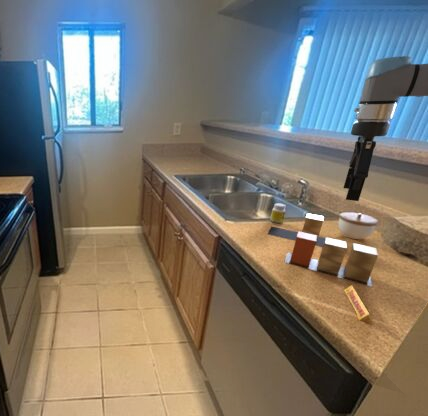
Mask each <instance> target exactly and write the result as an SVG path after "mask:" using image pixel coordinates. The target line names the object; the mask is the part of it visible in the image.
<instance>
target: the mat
mask: <svg viewBox="0 0 428 416" xmlns="http://www.w3.org/2000/svg"><path fill="white" fill-rule="evenodd" d="M297 234H298V231H294V230H289V229H285V228H281V227H278V226H277V227H276V226H272V225H271V226H270V228H269V230H268V232H267V235H269V236H273V237H278V238H281V239H282V238H283V239H286V240H290V241H294V242H295V241H296V237H297ZM325 238H326V237H323V236H319V237H318V240H317V243H316V244H315V247H316V246H317V247H320V248H322V247H323V244H324V241H325Z"/></svg>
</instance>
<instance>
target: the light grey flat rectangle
mask: <svg viewBox="0 0 428 416" xmlns="http://www.w3.org/2000/svg"><path fill="white" fill-rule="evenodd" d="M291 256H292V252H286V255H285V258H284V263H286V264H288V265H292V266H295V267H299V268H304V269H306V270H311V271H314V272H316V273H320V274H325V275H328V276H332V277H334V278H339V279H343V280H346V281H349V282H352V283H357V284H361V285H364V286H368V287H371V288H373V283H372V278H371V275H370V277H369V280H368V282H367V283H366V282H363V281H359V280H355V279H352V278H348V277H345V275H344V268H345V266H342V265H341V267H340V270H339V273H338V275H337V274H333V273H330V272H326V271H323V270H319V269H317V266H318V260H319V259H315V258H311V261H310V265H309V267H308V266H304V265H301V264H297V263H293V262H290V260H291Z"/></svg>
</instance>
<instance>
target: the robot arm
mask: <svg viewBox="0 0 428 416" xmlns="http://www.w3.org/2000/svg"><path fill="white" fill-rule="evenodd" d="M411 61H412V57H411V56H409V55H401V56H389V57H388V56H387V57H383V58H377V59H375V60H373V61H372V62H371V63H370V64H369V66H368V67H369V68H368V71H367V73H366V76H365V78H364V83H363V87H362V89H361V94H360V98H359V102H358V105H357V107H356V108H354V110H353V111H354V112H355V117H354V119H355V120H356V121H354V122H353V124H352V127H351V130H350V134H351V135H352V136H355V137H357V141H355V144H354V149H353V152H352V156H351V159H350V161H349V168H348V171H347V174H346V177H345V181H344V184H343V189H347V193H346V197H345V200H346V201H353V202H359V201H360V197H361V194H362V191H363V188H364V184H365V182H366V179H367V178H368V177H369V171H370V167H371V162H372V158H373V155H374V150H375V148H376V145H377V141H376V140H375V137H385V136H387V135H388V133H389V130H390V126H391V122H390V120H392V119H393V118H394V115H395V112H396V108H397V106H398V101H399V98H400V97H404V98H406V97H417V98H420V97H421V98H422V97H428V63H412V62H411Z"/></svg>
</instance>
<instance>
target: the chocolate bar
mask: <svg viewBox="0 0 428 416" xmlns="http://www.w3.org/2000/svg"><path fill="white" fill-rule="evenodd" d="M344 292H345V294H346V296H347V298H348V300H349V301H350V303H351V305H352V307H353V309H354V311H355V315H356V317H357V319H358V320H359V321H362V322H367V323H372V324H373V323H374V322H373V320H372V317H371V315H370V313H369V311H368V309H367V308H366V306H365V305H364V303H363V301H362V299H361V298H360V295H358V293H357V291H356V289H355V287H353V285H352V284H351V285H349V286H348V287H346V288H344Z"/></svg>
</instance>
